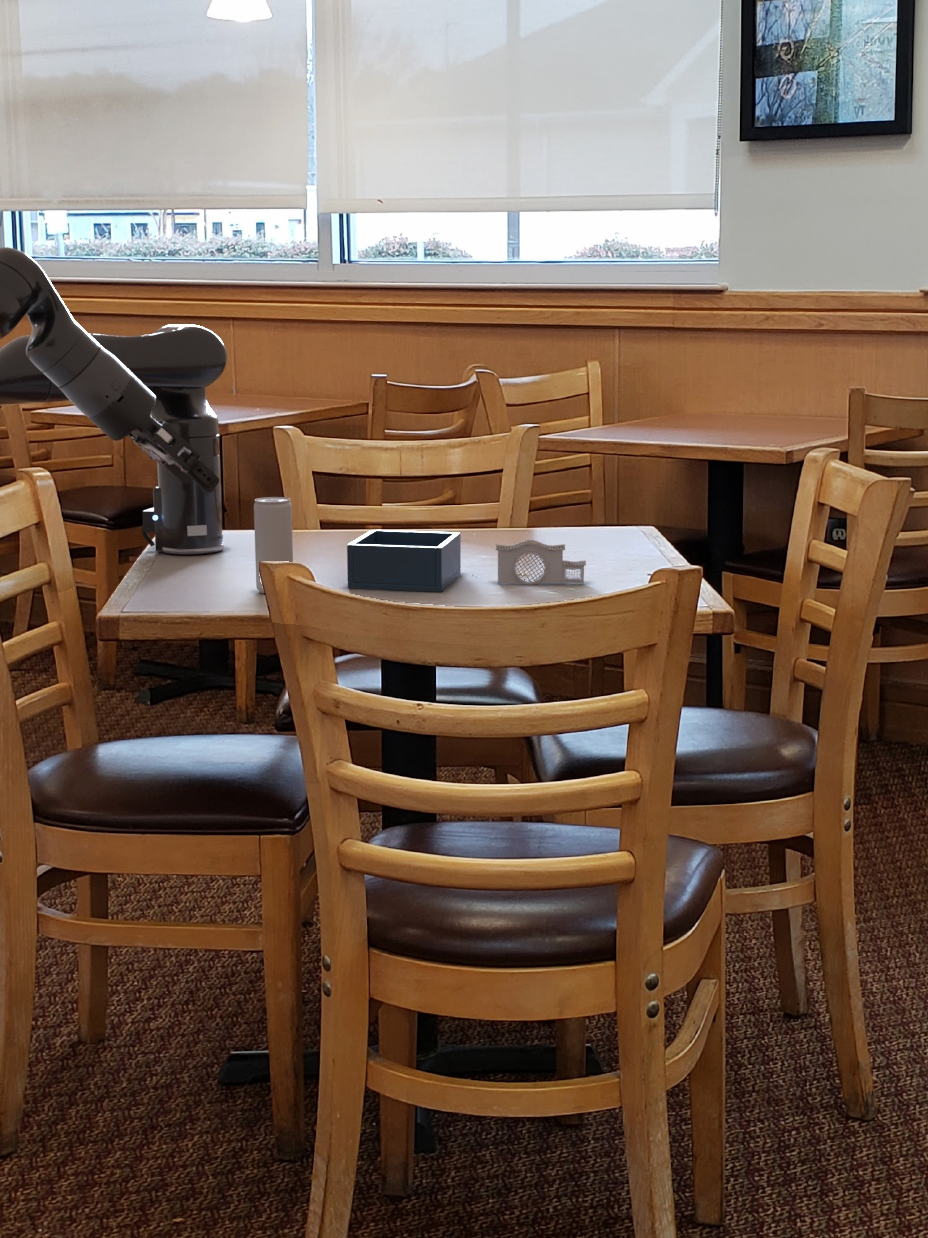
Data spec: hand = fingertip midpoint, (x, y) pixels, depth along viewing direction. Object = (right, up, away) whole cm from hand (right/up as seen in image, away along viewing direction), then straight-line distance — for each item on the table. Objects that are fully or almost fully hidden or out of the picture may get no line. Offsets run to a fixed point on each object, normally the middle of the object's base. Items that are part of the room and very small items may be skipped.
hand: (202, 482), depth 183 cm
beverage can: (+8, -14, +8) cm, 18 cm away
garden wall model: (+43, -12, +13) cm, 46 cm away
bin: (+25, -12, +14) cm, 31 cm away
